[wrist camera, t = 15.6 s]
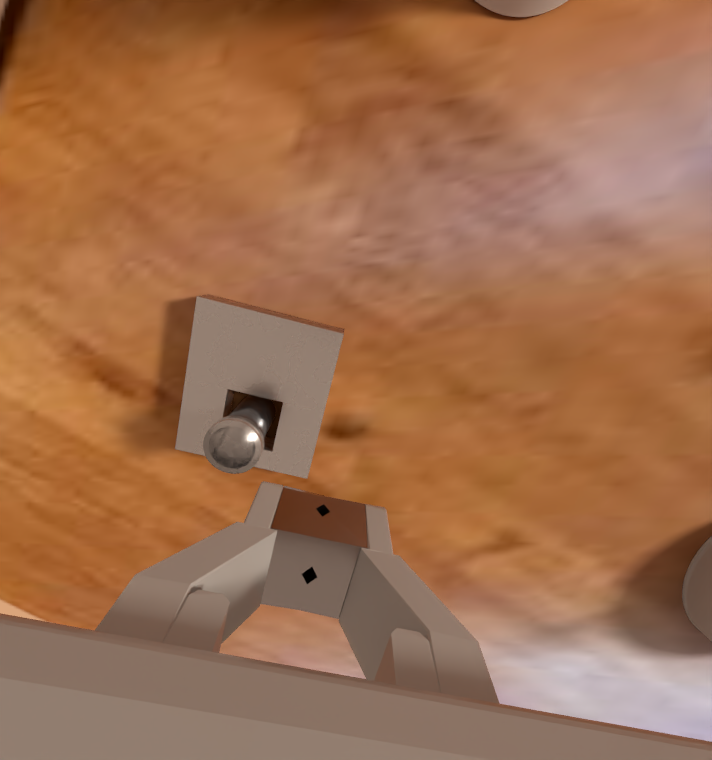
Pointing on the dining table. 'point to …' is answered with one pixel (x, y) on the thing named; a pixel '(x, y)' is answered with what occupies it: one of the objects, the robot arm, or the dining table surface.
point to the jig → (258, 376)
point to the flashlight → (240, 435)
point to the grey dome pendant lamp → (699, 590)
